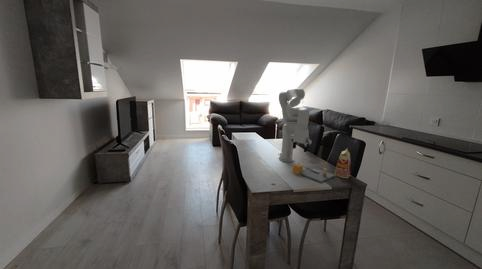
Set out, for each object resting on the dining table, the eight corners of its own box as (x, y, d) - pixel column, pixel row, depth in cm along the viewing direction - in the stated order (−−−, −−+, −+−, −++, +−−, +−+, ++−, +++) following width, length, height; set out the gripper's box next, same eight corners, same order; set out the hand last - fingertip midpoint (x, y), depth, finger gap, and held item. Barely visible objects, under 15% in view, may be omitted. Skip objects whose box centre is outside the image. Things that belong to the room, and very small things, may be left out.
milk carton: (337, 171, 172) (341, 146, 167) (350, 175, 166) (354, 149, 162) (333, 175, 165) (337, 149, 161) (347, 179, 160) (351, 152, 155)
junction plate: (300, 174, 163) (301, 166, 162) (315, 169, 175) (315, 161, 173) (320, 182, 152) (322, 174, 150) (334, 176, 163) (335, 168, 161)
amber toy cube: (292, 172, 167) (293, 164, 166) (296, 170, 170) (297, 163, 169) (297, 174, 164) (298, 166, 162) (302, 173, 167) (302, 165, 165)
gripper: (288, 124, 163) (286, 147, 167) (309, 129, 150) (307, 154, 154) (295, 124, 168) (293, 146, 172) (316, 128, 155) (313, 152, 159)
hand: (299, 150), depth 163 cm, fingers open, 9 cm apart
